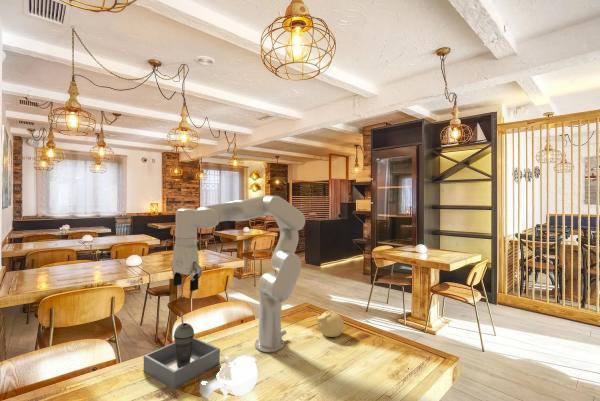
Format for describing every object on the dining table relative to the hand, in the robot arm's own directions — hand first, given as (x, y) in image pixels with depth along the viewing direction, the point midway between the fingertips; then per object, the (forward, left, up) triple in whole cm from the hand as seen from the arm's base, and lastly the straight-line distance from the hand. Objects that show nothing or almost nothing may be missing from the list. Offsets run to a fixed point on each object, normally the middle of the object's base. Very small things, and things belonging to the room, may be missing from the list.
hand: (185, 287), depth 119 cm
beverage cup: (0, 0, -29) cm, 29 cm away
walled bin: (0, 0, -30) cm, 30 cm away
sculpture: (-59, +31, -31) cm, 73 cm away
